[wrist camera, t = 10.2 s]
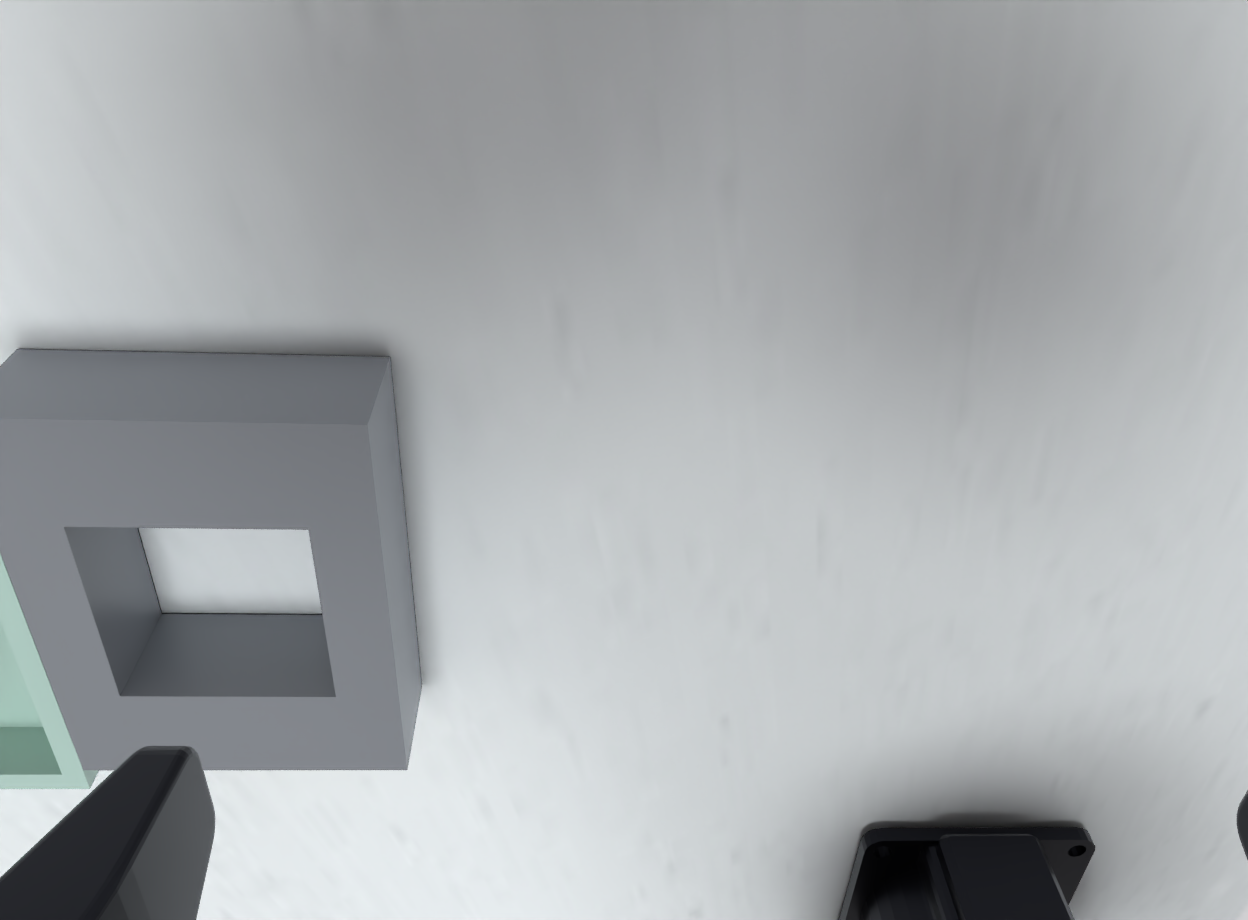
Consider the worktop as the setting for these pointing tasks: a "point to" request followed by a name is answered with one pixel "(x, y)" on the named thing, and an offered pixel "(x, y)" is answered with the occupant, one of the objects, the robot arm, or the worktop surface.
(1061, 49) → the worktop surface
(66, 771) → the parts tray
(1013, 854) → the robot arm
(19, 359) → the fuse holder
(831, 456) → the worktop surface
